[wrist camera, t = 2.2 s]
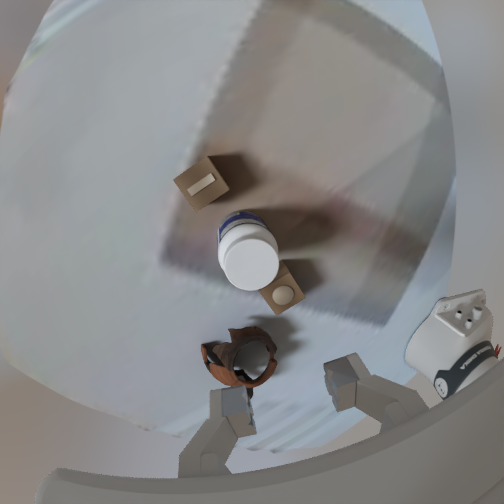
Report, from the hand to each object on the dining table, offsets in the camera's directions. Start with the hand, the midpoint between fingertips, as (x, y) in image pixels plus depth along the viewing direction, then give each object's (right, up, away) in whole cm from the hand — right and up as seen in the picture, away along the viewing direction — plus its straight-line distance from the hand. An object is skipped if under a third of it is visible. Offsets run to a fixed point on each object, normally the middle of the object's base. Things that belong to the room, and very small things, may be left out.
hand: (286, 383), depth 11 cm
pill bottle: (-3, +8, +22) cm, 23 cm away
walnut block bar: (-7, +14, +19) cm, 24 cm away
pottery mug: (-4, -8, +28) cm, 29 cm away
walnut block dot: (+2, +2, +24) cm, 24 cm away
